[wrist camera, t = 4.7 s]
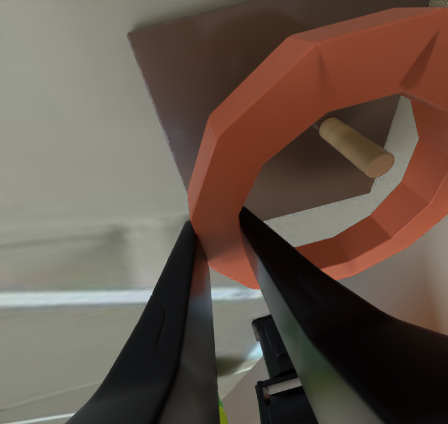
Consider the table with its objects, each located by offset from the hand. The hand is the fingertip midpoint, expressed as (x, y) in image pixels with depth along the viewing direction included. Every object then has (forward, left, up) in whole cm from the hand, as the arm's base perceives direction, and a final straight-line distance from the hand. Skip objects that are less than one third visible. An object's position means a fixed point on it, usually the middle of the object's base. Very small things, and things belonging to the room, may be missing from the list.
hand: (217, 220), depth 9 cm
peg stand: (0, -5, -6) cm, 8 cm away
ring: (0, -5, 0) cm, 5 cm away
